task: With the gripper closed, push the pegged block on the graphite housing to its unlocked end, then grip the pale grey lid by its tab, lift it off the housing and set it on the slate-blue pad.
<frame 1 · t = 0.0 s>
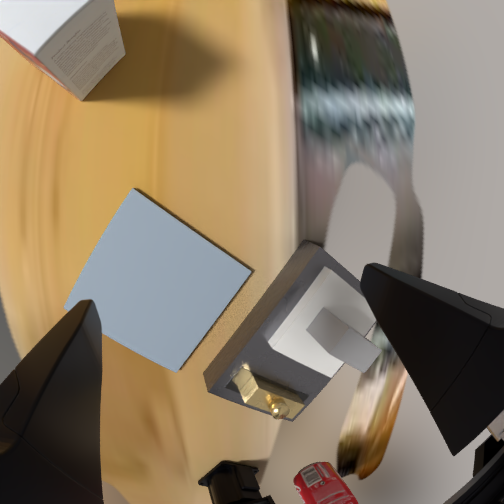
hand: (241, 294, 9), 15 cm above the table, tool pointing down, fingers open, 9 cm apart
small box: (76, 58, 17), on the table
soda can: (310, 470, 37), on the table
housing: (293, 335, 28), on the table
pad: (153, 289, 23), on the table
lid: (326, 324, 26), point 3 cm above the table, touching housing
pegged block: (275, 402, 24), point 5 cm above the table, slide at 0.0 cm
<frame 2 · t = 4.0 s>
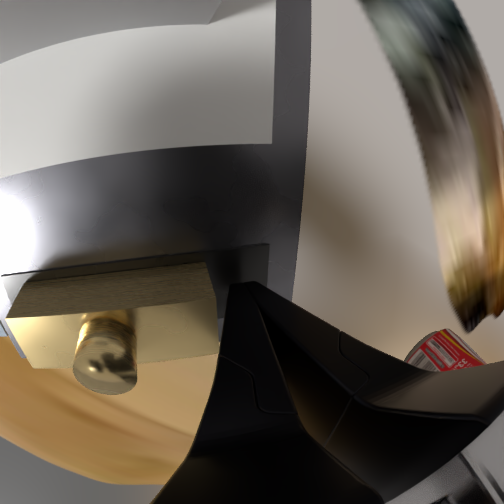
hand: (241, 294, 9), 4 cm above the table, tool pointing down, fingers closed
soda can: (420, 350, 23), on the table
housing: (119, 110, 8), on the table
lid: (105, 6, 4), point 3 cm above the table, touching housing
pegged block: (108, 333, 7), point 5 cm above the table, slide at 0.5 cm, touching gripper
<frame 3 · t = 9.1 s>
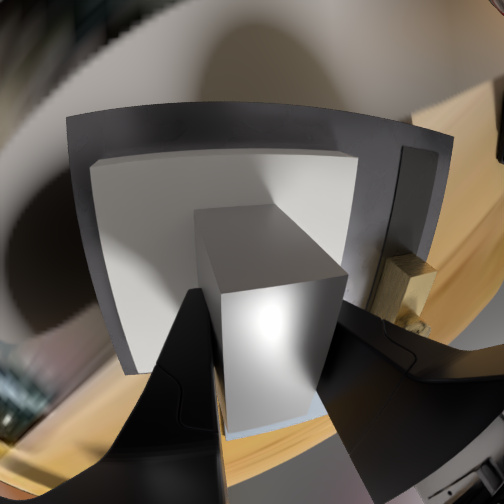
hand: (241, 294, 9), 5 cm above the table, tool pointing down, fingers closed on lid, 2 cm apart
housing: (276, 223, 14), on the table
pad: (296, 387, 21), on the table
lid: (227, 261, 11), point 3 cm above the table, touching gripper, housing
pegged block: (401, 321, 13), point 5 cm above the table, slide at 3.7 cm
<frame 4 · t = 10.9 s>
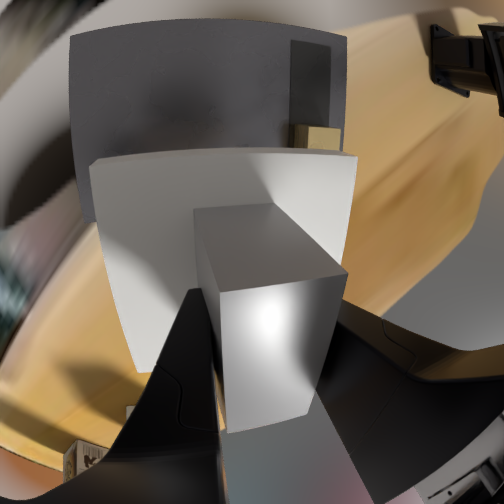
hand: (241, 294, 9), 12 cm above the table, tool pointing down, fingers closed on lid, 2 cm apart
housing: (208, 110, 17), on the table
lid: (226, 261, 11), point 10 cm above the table, touching gripper
pegged block: (319, 178, 16), point 5 cm above the table, slide at 3.7 cm
coffee box: (87, 451, 31), on the table
when the fingers open (4 cm above the table, at t = 13.1 s): lid drops 2 cm, resting on pad.
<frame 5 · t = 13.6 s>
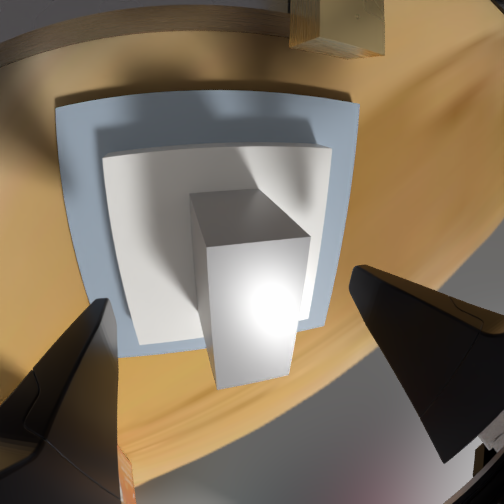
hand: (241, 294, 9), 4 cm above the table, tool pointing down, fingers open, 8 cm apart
small box: (91, 443, 18), on the table
pad: (216, 237, 12), on the table
lid: (219, 241, 12), resting on pad
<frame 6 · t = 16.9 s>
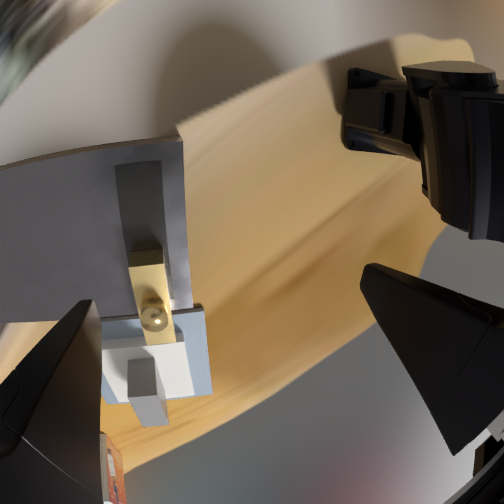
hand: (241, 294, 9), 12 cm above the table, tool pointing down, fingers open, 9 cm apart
small box: (97, 443, 30), on the table
housing: (73, 229, 18), on the table
pad: (146, 363, 25), on the table
lid: (146, 366, 24), resting on pad
pegged block: (153, 305, 17), point 5 cm above the table, slide at 3.7 cm
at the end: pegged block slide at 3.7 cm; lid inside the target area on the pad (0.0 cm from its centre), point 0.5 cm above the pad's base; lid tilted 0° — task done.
